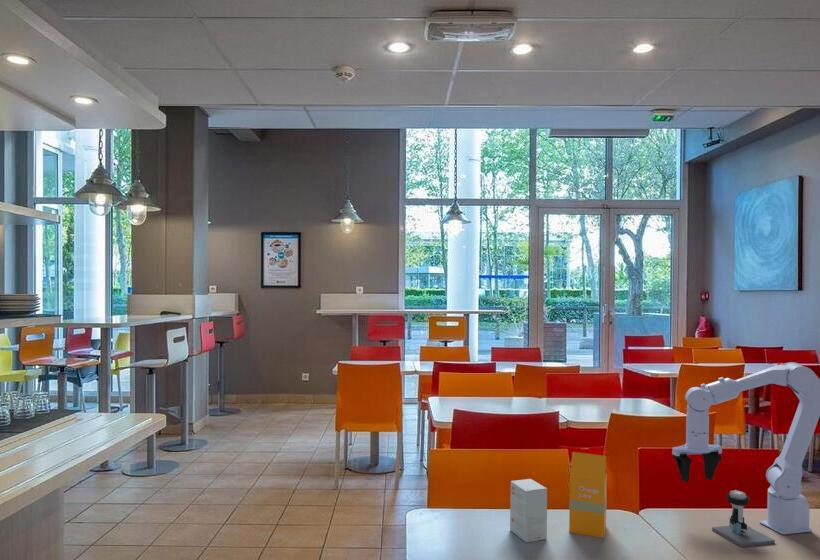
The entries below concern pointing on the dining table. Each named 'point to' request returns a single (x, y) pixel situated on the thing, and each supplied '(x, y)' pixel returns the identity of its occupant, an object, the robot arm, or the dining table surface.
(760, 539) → the rubber pad
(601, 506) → the orange juice
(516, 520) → the small box
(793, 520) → the robot arm
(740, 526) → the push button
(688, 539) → the dining table surface
